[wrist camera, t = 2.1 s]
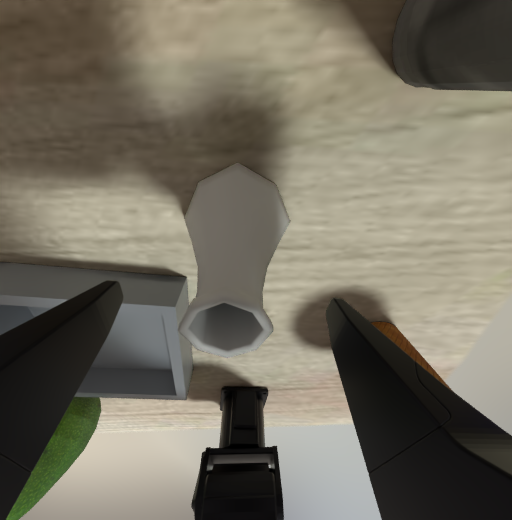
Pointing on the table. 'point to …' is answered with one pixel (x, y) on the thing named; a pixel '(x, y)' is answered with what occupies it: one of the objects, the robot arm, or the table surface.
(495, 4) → the beverage cup
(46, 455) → the avocado
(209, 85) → the table surface
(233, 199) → the flask
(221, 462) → the robot arm
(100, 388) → the serving bin
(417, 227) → the table surface
